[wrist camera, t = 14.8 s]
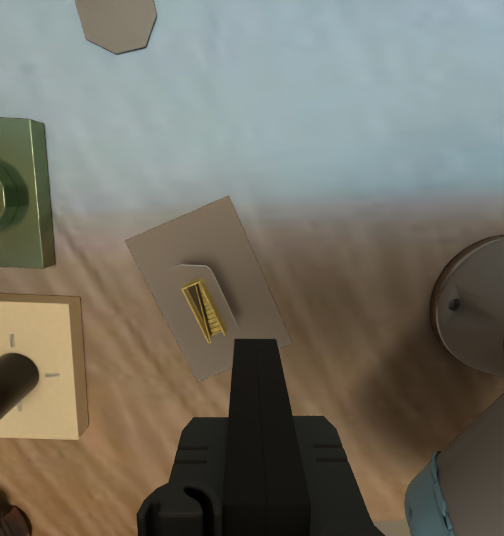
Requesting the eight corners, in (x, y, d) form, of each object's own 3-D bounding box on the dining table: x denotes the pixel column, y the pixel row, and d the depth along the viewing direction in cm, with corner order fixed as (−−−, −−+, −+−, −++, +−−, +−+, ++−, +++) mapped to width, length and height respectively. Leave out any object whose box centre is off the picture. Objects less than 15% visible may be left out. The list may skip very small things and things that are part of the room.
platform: (228, 195, 35) (225, 196, 28) (292, 343, 38) (302, 374, 32) (124, 240, 35) (98, 251, 29) (197, 382, 39) (188, 419, 33)
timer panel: (88, 424, 40) (77, 440, 38) (-15, 421, 40) (-33, 437, 37) (80, 296, 37) (67, 304, 34) (-33, 292, 36) (-55, 299, 34)
